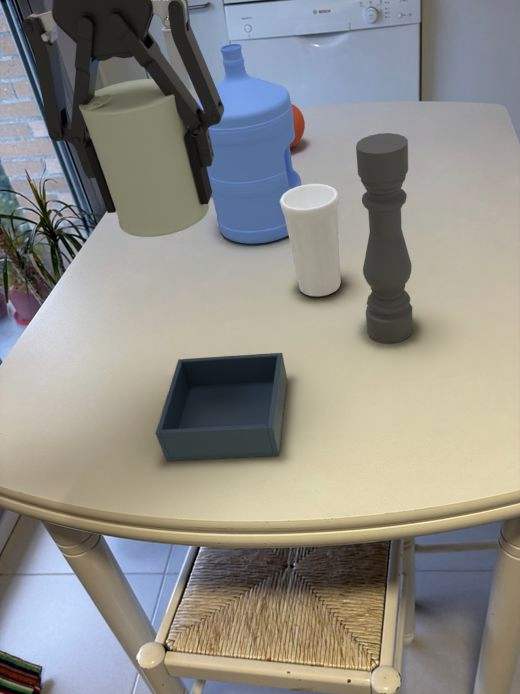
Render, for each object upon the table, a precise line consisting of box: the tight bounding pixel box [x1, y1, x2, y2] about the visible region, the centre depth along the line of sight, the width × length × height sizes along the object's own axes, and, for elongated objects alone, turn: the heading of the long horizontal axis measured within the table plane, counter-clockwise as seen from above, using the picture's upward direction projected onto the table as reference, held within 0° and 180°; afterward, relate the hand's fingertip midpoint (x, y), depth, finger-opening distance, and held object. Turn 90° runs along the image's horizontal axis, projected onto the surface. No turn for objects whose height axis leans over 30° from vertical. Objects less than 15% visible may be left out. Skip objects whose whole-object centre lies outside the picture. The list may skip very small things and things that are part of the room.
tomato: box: [289, 100, 306, 149], centre depth 135 cm, size 10×10×10 cm
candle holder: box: [355, 132, 414, 344], centre depth 79 cm, size 6×6×25 cm
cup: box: [280, 183, 342, 297], centre depth 93 cm, size 8×8×14 cm
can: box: [79, 78, 210, 238], centre depth 62 cm, size 9×9×12 cm
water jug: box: [196, 43, 303, 245], centre depth 105 cm, size 16×16×28 cm
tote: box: [154, 352, 288, 462], centre depth 77 cm, size 13×13×4 cm
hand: (160, 202), depth 65 cm, fingers closed on can, 9 cm apart
